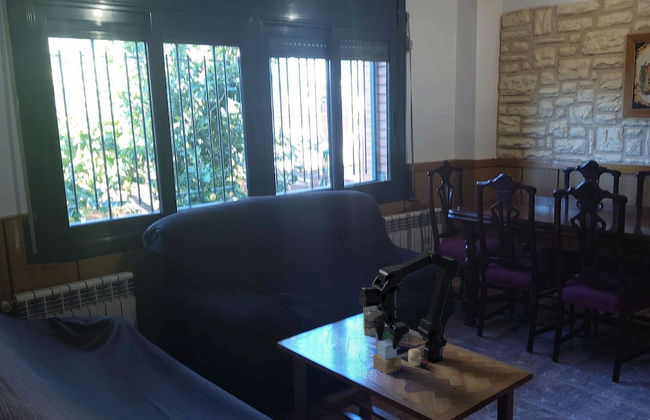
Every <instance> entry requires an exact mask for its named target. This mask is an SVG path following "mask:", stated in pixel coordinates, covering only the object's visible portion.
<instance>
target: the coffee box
mask: <svg viewBox="0 0 650 420" xmlns="http://www.w3.org/2000/svg"><path fill="white" fill-rule="evenodd" d="M362 308H363V307H362ZM375 310H377V306H371V307H364V308H363V315H362V316H363V317H362V319H363V323H362V325H363V335H364V336H376V330H375V328H372V327H371V326H368V325H367V322H366V319H365V316H367V314H368V312H370V311H375Z"/></svg>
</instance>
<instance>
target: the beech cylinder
mask: <svg viewBox="0 0 650 420" xmlns="http://www.w3.org/2000/svg"><path fill="white" fill-rule="evenodd" d="M407 355H408V356H407V357H408V358H407V359H408V361H407V362H408V363H407V364H408V365H409V366H410V367H420V366H421V364H422V350H421V349H419V348H410V349H408V354H407Z"/></svg>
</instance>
